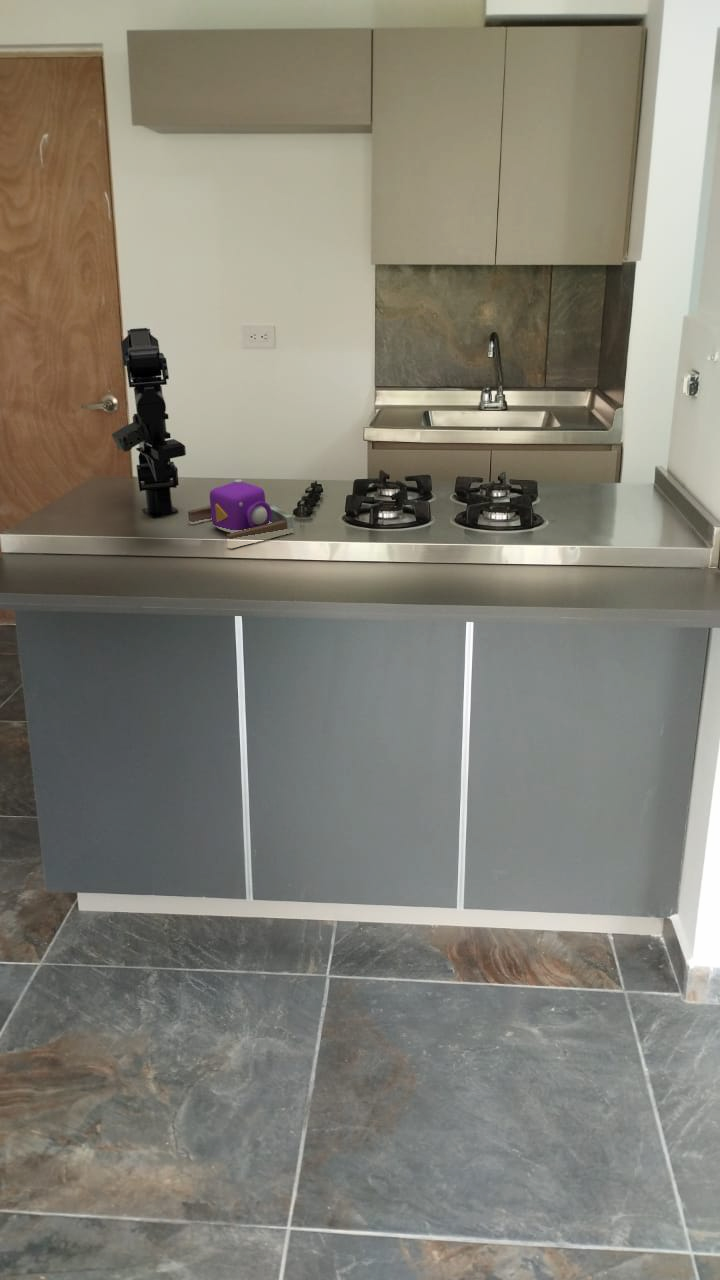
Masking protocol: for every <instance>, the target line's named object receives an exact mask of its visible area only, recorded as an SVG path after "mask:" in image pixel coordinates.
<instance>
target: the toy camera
mask: <svg viewBox="0 0 720 1280" xmlns="http://www.w3.org/2000/svg"><path fill="white" fill-rule="evenodd" d="M209 501H210V502H209V503H210V505H209V506H211V516H212V521H211V522H212V523H211V524H212V526H213V525H215V526H218V527H222V528H226V529H230V530H244V529H249V528H254V527H258V526H262V525H266V524H268V523H269V521H270V519H271V508H270V506H269V505H268V504H267V503H268V502H267V501H266V495H265V491H264V489H263V488H262V487H260V486H257V485H254V484H251V483H247V482H244V481H243V480H242V479H240V478H239V479H234V481H233V482H230V483H227V484H224V485H221V486H218V487H215V488H212V489H211V490H210V492H209ZM266 502H267V503H266Z"/></svg>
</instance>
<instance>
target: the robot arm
mask: <svg viewBox="0 0 720 1280" xmlns="http://www.w3.org/2000/svg"><path fill="white" fill-rule="evenodd" d="M126 332H127V336H125V338H124V339H123V340H122V341H120V346H121V356H122V364H123V367H126V372H127V381H128V386H129V388H133V391H134V392H133V393H134V399H135V402H134V403H135V409H136V413H133V415H132V422H131V423H129V424H127V425H124V426H122V427H121V428H119V429H118V430H116V431H115V432H113V433H112V434H111V437H112V439H113V440H114V443H115V444H116V446H117V448H118V449H120V450H122V451H123V452H125V453H127V452H128V451H131V450H132V448H134V447H136V446H138V447H136V448H135V449H136V451H137V452H139V455H138V462H139V464H136V472H137V473H136V474H137V475H136V476H137V481H138V490H139V492H143V491H144V492H145V498H146V507H144V508H142V509H141V510H142V512H143V513H145V514H146V515H148V516H149V517H151V518H152V519H156V518H155V517H157V518H161V517H164V516H165V517H166V516H169V515H174V514H178V513H179V509H178V508H176V507H174V506H173V502H172V501H173V500H172V493H171V489H173V488H174V489H176V488H177V486H179V485H180V484H179V473H178V471H179V470H178V467H177V466H176V465H175V463H174V461H171V459H176V458H180V457H184V456H186V455H187V453H186V451H187V450H186V446H185V444H183V443H182V442H180V441H178V440H177V439H175V438H173V439H171V437H172V436H171V432H168V431H167V424H166V420H169V414H168V413H166V411H167V405H166V402H165V397H164V395H163V388H162V386H166V385H168V381H167V380H169V379H170V378H169V377H170V376H169V369H168V363H167V358H166V357H165V355H164V353H163V352H161V351H160V344H159V340H158V338H157V337H155V336H154V335H152V334H151V329H150V328H147V327H141V328H140V327H138V328H130V329H128V330H127V331H126ZM167 439H168V440H167Z"/></svg>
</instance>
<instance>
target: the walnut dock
mask: <svg viewBox="0 0 720 1280" xmlns="http://www.w3.org/2000/svg"><path fill="white" fill-rule="evenodd" d="M265 502H266V503H267V504H268V505H269V506H270V508H271V519H270V522H272V523H270V524H266V525H262V526H258V527H254V528H250V529H246V530H242V531H238V532H234V533H230V534H229V533H226V539H227V538H229V539H233V538H237V537H242V536H248V535H255V534H261V533H266V532H273V531H278V530H284V529H290V528H294V516H293V515H291V514H289V513H288V512H286V511H284V510H282V509H280V508H278V507H277V506H275V505H273V504H271V503H269V502H267V501H265ZM187 513H188V514H187V515H188V516H187V517H188V522H189V521H191V522H195V521H199V520H204V519H211V518H212V516H211V505H207V506H203V507H200V508H194V509H190V510H187Z"/></svg>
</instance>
